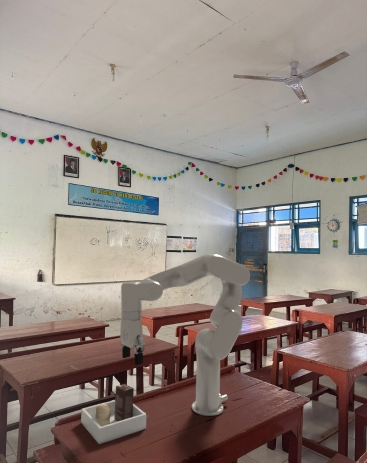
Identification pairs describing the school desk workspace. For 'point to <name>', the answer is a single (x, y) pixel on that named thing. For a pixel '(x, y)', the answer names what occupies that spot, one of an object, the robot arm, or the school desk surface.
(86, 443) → the school desk surface
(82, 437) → the school desk surface
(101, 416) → the beige piece
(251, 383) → the school desk surface
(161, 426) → the school desk surface
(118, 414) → the box
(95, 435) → the tote
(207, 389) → the robot arm
